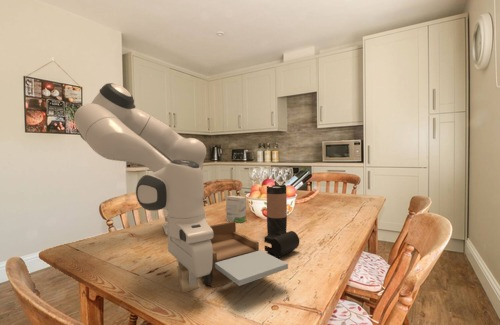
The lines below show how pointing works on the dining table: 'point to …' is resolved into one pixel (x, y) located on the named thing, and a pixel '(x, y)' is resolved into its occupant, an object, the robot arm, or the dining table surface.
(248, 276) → the tailgate
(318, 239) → the dining table surface
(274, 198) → the travel mug
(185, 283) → the beech block
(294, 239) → the end cap
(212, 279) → the tray
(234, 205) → the ink box
